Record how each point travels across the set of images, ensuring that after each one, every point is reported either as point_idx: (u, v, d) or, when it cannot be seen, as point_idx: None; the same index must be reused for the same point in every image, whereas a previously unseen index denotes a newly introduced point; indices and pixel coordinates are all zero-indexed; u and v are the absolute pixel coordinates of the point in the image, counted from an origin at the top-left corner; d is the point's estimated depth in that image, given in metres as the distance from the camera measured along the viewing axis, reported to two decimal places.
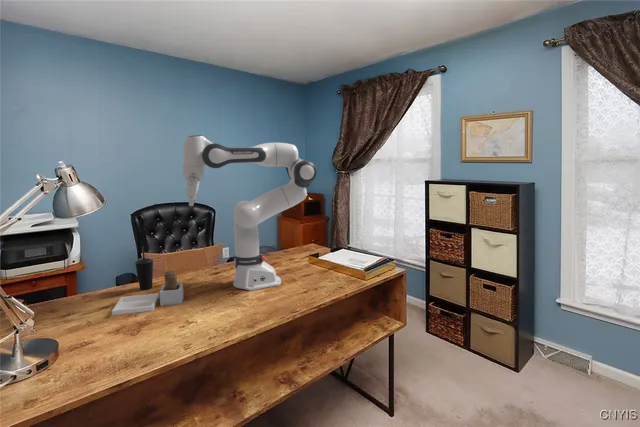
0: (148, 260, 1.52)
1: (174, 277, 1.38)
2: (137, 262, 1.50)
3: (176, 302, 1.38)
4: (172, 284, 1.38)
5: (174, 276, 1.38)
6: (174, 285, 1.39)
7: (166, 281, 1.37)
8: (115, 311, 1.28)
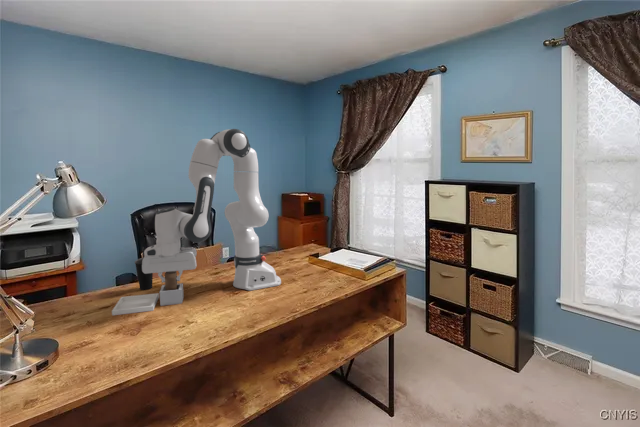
0: None
1: (174, 277, 1.38)
2: (137, 262, 1.50)
3: (176, 302, 1.38)
4: (172, 284, 1.38)
5: (174, 276, 1.38)
6: (174, 285, 1.39)
7: (166, 281, 1.37)
8: (115, 311, 1.28)
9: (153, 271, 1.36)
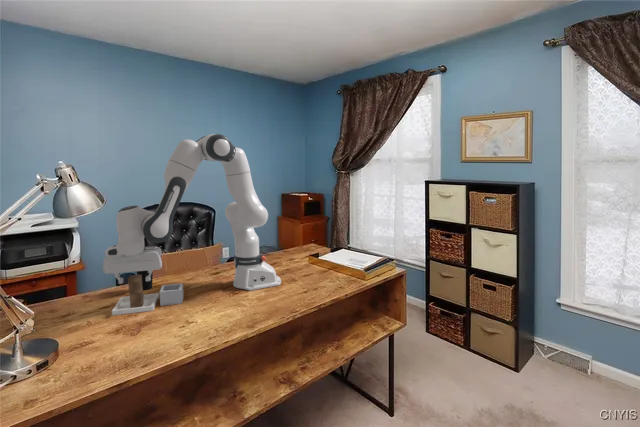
0: None
1: (138, 281, 1.33)
2: None
3: (176, 302, 1.38)
4: (136, 288, 1.34)
5: (138, 280, 1.33)
6: (138, 289, 1.34)
7: (130, 285, 1.33)
8: (115, 311, 1.28)
9: (115, 271, 1.31)
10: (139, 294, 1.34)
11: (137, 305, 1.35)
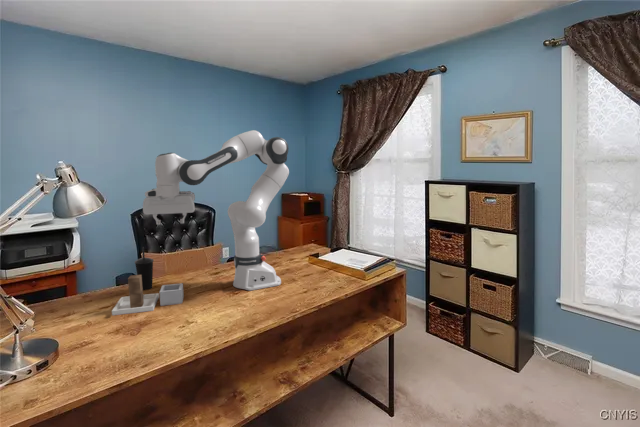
0: (148, 260, 1.52)
1: (138, 281, 1.33)
2: (137, 262, 1.50)
3: (176, 302, 1.38)
4: (136, 288, 1.34)
5: (138, 280, 1.33)
6: (138, 289, 1.34)
7: (130, 285, 1.33)
8: (115, 311, 1.28)
9: (153, 212, 1.43)
10: (139, 294, 1.34)
11: (137, 305, 1.35)
